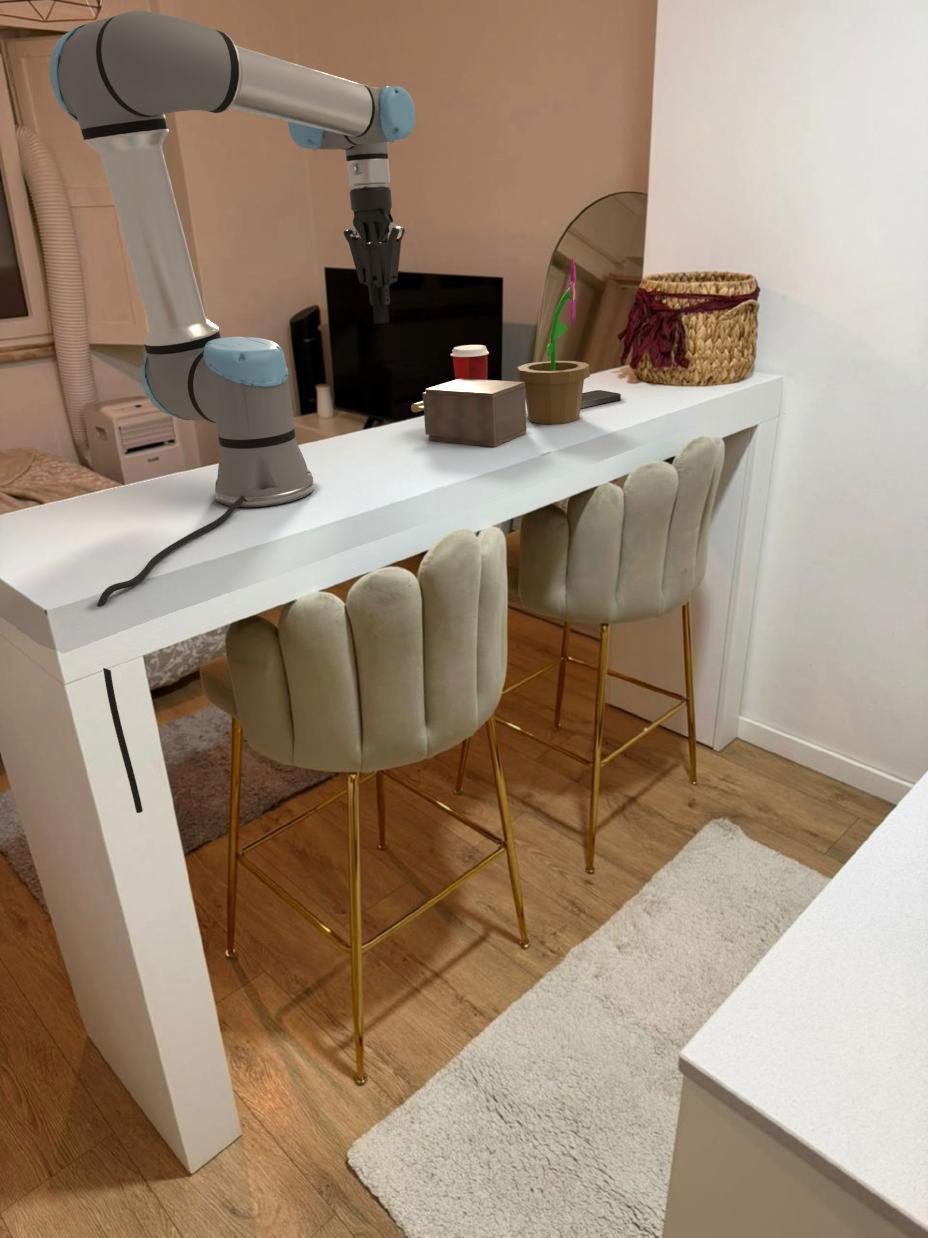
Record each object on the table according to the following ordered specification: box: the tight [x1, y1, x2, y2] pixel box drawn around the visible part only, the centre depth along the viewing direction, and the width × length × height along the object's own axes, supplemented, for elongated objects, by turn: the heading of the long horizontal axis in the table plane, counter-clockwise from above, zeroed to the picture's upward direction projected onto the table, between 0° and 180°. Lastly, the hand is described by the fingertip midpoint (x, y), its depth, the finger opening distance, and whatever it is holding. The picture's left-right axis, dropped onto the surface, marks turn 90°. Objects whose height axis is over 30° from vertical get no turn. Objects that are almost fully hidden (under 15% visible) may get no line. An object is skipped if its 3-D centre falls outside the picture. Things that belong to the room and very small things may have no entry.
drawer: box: [410, 391, 429, 436], centre depth 168 cm, size 18×10×8 cm, turn 56°
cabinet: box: [425, 378, 527, 448], centre depth 166 cm, size 15×12×10 cm
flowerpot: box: [516, 257, 591, 425], centre depth 173 cm, size 14×14×30 cm
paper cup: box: [450, 344, 490, 380], centre depth 182 cm, size 8×8×14 cm
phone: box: [580, 389, 622, 409], centre depth 191 cm, size 8×1×15 cm
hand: (381, 322), depth 171 cm, fingers closed
